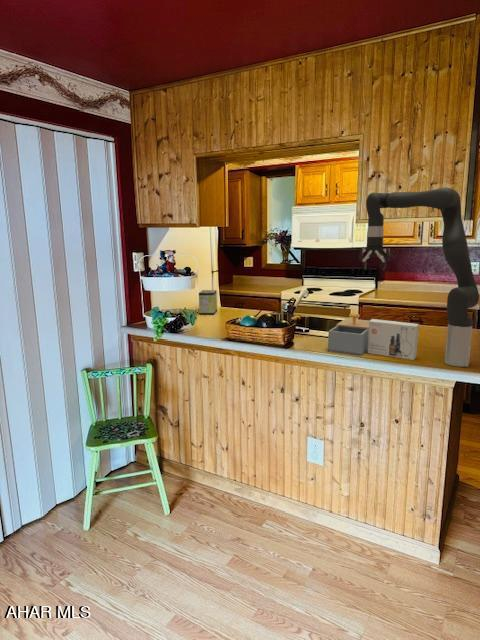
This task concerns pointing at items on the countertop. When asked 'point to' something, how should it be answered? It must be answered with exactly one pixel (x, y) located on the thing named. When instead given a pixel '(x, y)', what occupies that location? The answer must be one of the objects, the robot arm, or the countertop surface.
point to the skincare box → (393, 338)
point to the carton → (348, 340)
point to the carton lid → (354, 322)
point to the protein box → (207, 302)
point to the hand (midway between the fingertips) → (373, 269)
